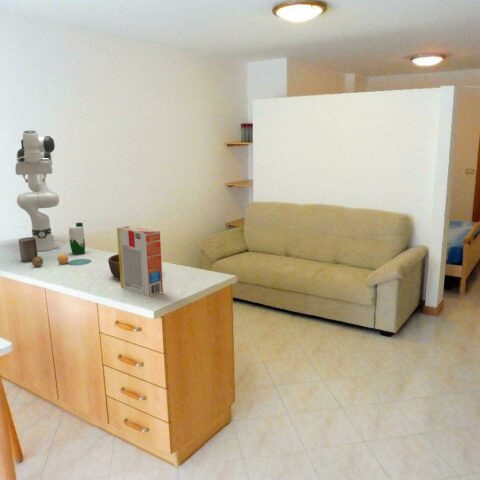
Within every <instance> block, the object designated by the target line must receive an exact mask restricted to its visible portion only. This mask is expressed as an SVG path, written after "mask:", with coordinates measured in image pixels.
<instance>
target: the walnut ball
mask: <svg viewBox="0 0 480 480" xmlns="http://www.w3.org/2000/svg"><path fill="white" fill-rule="evenodd" d="M31 264H32V265H33V266H34V267H37V268H39V267H41V266H42V265H43V264H44V260H43V258H42V257H41V256H39V255H38V256H37V257H34V258H33V259H32V262H31Z"/></svg>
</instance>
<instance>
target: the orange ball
mask: <svg viewBox="0 0 480 480" xmlns="http://www.w3.org/2000/svg"><path fill="white" fill-rule="evenodd" d="M57 262H58V263H59V264H61V265H65V264H67V262H69V256H68V255H67V254H65V253H60V254H59V255H58V256H57Z"/></svg>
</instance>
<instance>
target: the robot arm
mask: <svg viewBox="0 0 480 480" xmlns="http://www.w3.org/2000/svg"><path fill="white" fill-rule="evenodd" d="M20 144H21V148H20V149H18V151H17V153H16V164H15V174H16V175H17V176H21V175H22V178H23V179H24V181H25V183H27V186H28V189H29V190H30V192H23V193H19V195H17V198H16V203H17V205H18V207H19V208H21V209H22V210H23V211H25V212H26V213H27V215H28V216H29V219H30V221H31V226H32V228H31V234H32V236H31V237H34V238H36V246H37V252H45V251H50V250H53V249H58V248H59V245H57V244H56V240H55V236H54V235H53V234H52V229H51V228H52V227H51V223H50V217H49V215H47V214H46V213H44V212H40V211H39V209H50V208H54V207H57V206H58V205H59V202H60V197H59V195H58V194H57V193H56V192H55V191H53V190H51V189H50V188H49V187H48V185H47V182H46V178H47V174H48V175H52V174H53V168H52V165H53V161H52V158H53V156H52V152H53V151H55V147H56V145H55V140H54V138H53V137H51V136H50V135H45V136H39V135H38V132H37V131H36V130H24V131H23V132H22V139H21V140H20ZM26 176H27V178H26Z"/></svg>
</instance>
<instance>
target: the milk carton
mask: <svg viewBox="0 0 480 480" xmlns="http://www.w3.org/2000/svg"><path fill="white" fill-rule="evenodd" d="M68 228H69V229H68V230H69V231H68V237H69V246H70V251H71V253H72V256H77V255H85V254H86V241H85V231H84V225H83V222H76V223H75V225H71V226H69V227H68Z"/></svg>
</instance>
